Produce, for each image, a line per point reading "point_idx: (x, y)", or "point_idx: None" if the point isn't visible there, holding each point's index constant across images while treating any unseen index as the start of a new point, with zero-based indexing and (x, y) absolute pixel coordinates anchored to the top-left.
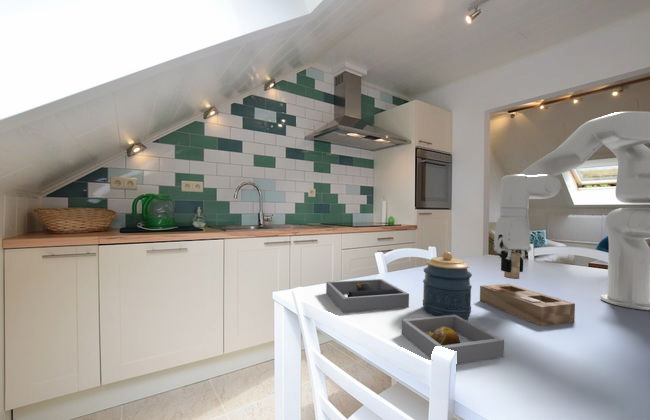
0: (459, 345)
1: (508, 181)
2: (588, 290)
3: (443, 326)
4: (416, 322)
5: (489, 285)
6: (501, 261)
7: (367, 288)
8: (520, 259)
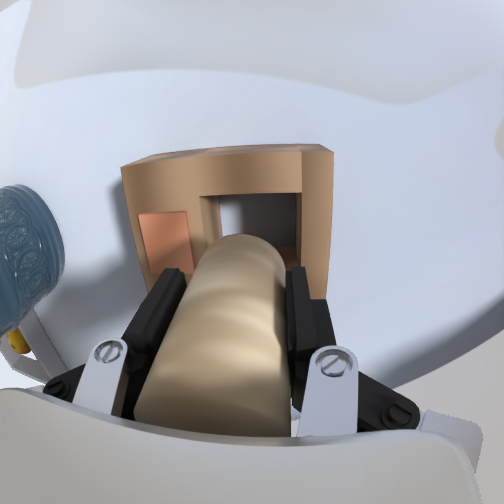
0: (24, 374)
1: None
2: None
3: (9, 339)
4: None
5: (174, 164)
6: (139, 312)
7: None
8: (292, 396)
